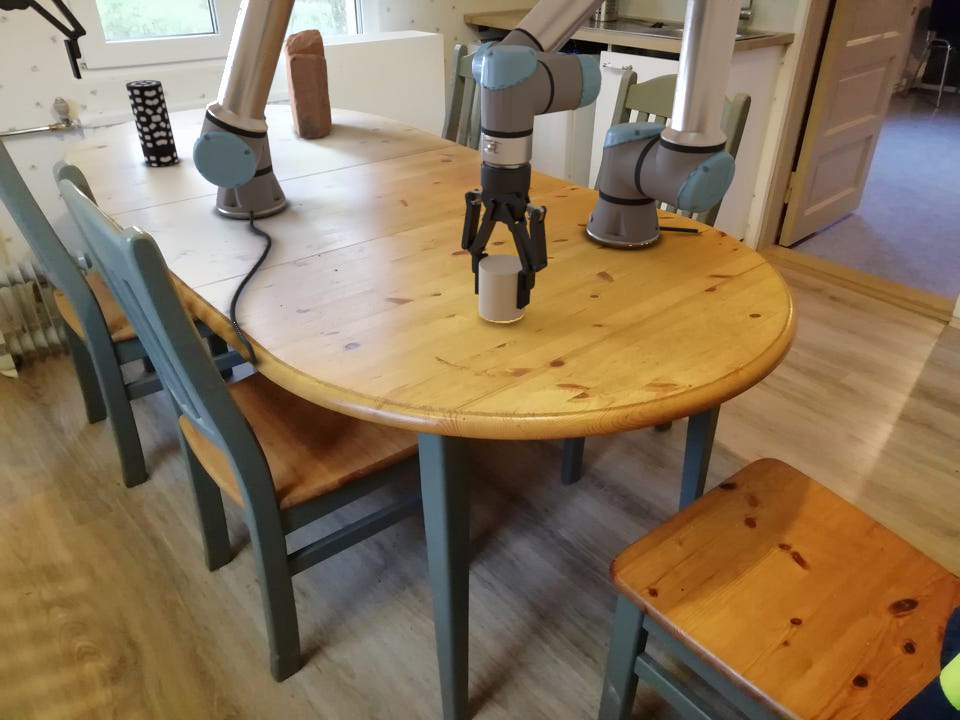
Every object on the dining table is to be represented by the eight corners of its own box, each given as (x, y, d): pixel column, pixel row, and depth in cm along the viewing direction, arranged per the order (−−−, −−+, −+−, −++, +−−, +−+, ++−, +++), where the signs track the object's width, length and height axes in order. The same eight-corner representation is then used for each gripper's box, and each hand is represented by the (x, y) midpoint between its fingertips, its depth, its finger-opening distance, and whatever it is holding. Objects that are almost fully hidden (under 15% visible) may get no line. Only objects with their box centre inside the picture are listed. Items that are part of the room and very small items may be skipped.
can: (524, 324, 112) (527, 274, 107) (477, 323, 112) (477, 273, 107) (524, 302, 118) (526, 254, 114) (479, 301, 119) (480, 253, 114)
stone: (337, 137, 208) (326, 34, 194) (299, 140, 205) (285, 36, 191) (327, 123, 225) (317, 28, 211) (292, 125, 222) (279, 29, 208)
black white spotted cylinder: (184, 157, 190) (167, 80, 179) (169, 166, 183) (151, 87, 172) (155, 156, 190) (136, 79, 179) (139, 165, 183) (119, 86, 172)
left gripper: (-94, -50, 107) (-40, 94, 118) (81, -52, 120) (115, 77, 131) (-98, -52, 111) (-45, 86, 123) (71, -54, 125) (104, 71, 136)
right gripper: (435, 154, 104) (439, 289, 116) (552, 181, 94) (542, 326, 106) (466, 143, 109) (466, 274, 122) (579, 168, 99) (567, 308, 111)
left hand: (38, 82), depth 127 cm, fingers open, 13 cm apart
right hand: (501, 298), depth 114 cm, fingers open, 8 cm apart
